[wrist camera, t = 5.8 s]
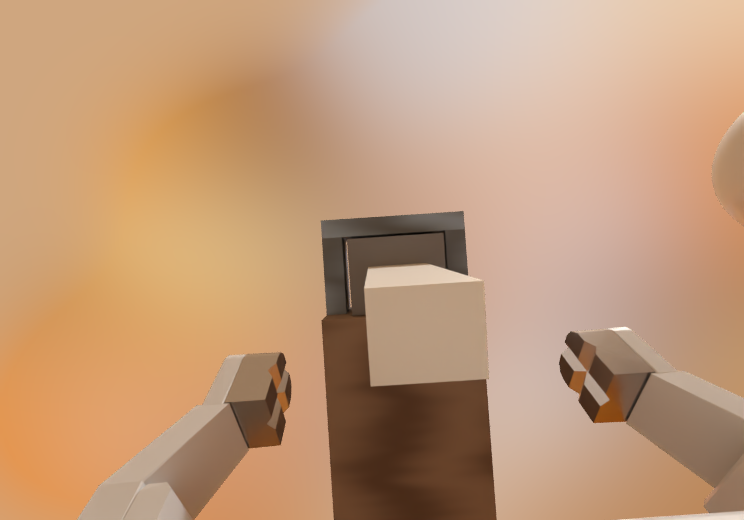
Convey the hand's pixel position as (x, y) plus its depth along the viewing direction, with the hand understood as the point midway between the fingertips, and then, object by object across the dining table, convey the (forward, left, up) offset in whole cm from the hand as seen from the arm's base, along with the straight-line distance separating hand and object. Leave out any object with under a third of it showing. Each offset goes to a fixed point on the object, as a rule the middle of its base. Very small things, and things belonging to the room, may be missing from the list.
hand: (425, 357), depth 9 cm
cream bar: (0, -5, 0) cm, 5 cm away
